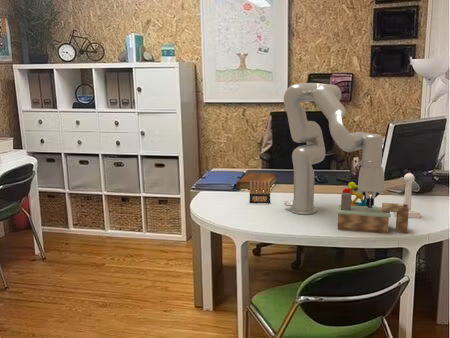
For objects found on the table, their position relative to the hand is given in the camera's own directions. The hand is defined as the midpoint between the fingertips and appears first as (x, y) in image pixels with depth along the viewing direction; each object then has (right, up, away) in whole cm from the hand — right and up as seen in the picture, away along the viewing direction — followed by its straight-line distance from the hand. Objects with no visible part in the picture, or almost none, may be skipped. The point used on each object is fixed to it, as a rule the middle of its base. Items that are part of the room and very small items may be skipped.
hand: (369, 207), depth 189 cm
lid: (-2, -2, +1) cm, 3 cm away
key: (+9, -1, -2) cm, 9 cm away
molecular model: (+3, -3, +31) cm, 31 cm away
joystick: (+22, -5, +18) cm, 29 cm away
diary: (-41, +5, +77) cm, 87 cm away
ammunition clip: (-43, -2, +41) cm, 59 cm away
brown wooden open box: (+1, -9, +2) cm, 9 cm away
